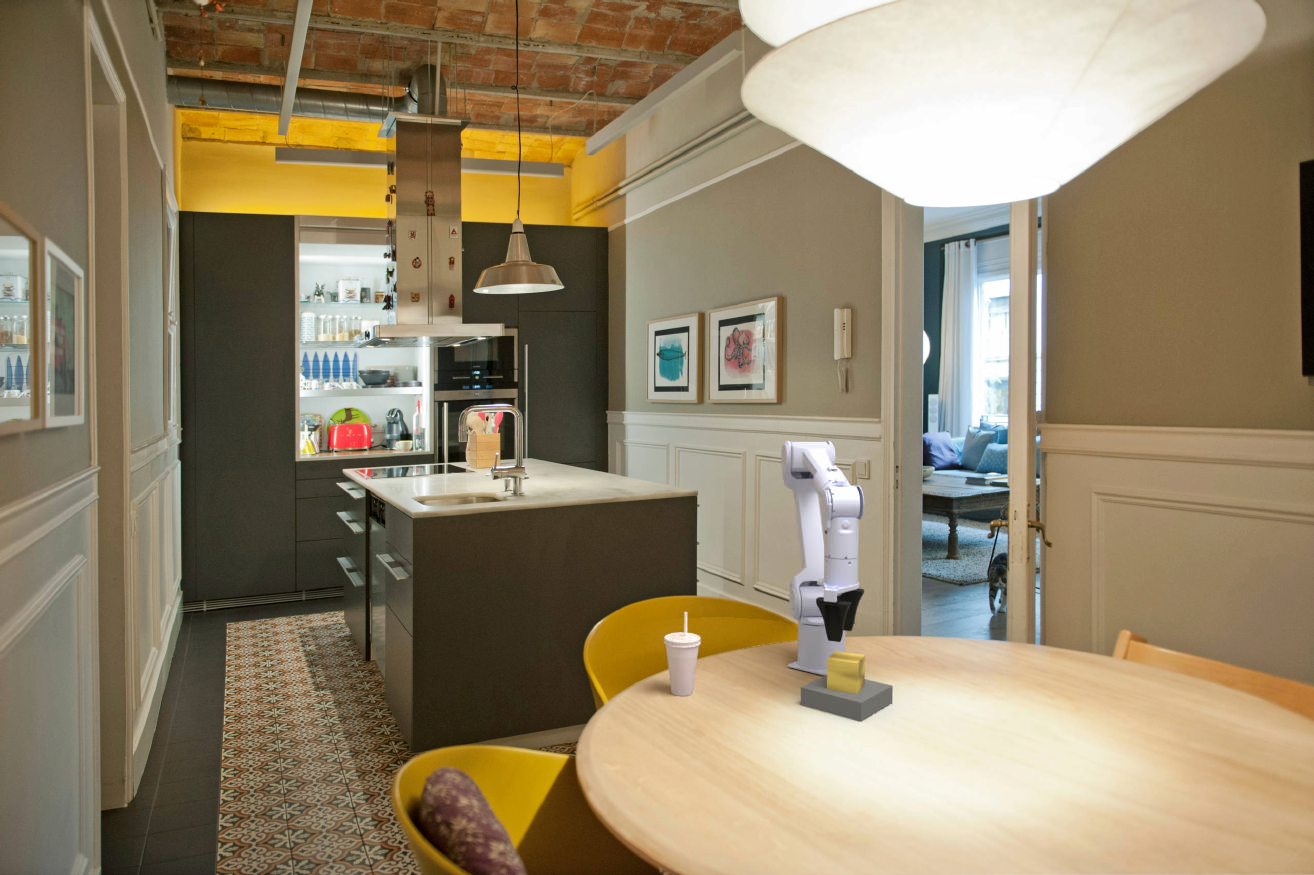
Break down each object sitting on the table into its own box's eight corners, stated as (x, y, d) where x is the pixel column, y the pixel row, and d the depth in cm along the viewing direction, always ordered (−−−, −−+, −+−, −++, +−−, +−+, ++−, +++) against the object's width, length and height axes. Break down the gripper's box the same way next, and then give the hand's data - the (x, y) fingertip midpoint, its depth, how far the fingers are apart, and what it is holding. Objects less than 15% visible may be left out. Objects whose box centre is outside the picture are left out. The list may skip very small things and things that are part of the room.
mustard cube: (835, 680, 142) (835, 651, 142) (864, 684, 140) (864, 655, 140) (826, 688, 138) (827, 658, 138) (857, 693, 136) (857, 663, 135)
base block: (833, 691, 147) (833, 671, 147) (892, 706, 140) (892, 685, 140) (800, 708, 139) (800, 687, 139) (861, 724, 132) (861, 702, 131)
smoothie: (701, 699, 141) (701, 617, 141) (663, 698, 142) (663, 616, 141) (700, 686, 148) (700, 608, 147) (663, 686, 148) (664, 607, 147)
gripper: (829, 548, 151) (828, 623, 151) (806, 561, 138) (805, 642, 138) (868, 551, 148) (867, 627, 148) (848, 565, 135) (847, 648, 135)
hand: (840, 635), depth 143 cm, fingers open, 7 cm apart
